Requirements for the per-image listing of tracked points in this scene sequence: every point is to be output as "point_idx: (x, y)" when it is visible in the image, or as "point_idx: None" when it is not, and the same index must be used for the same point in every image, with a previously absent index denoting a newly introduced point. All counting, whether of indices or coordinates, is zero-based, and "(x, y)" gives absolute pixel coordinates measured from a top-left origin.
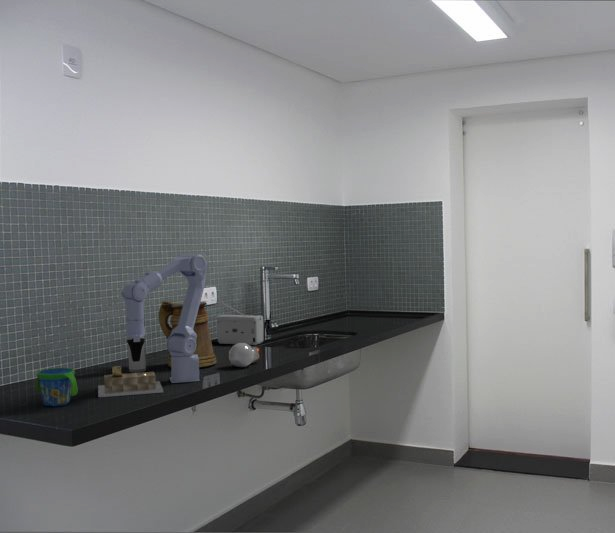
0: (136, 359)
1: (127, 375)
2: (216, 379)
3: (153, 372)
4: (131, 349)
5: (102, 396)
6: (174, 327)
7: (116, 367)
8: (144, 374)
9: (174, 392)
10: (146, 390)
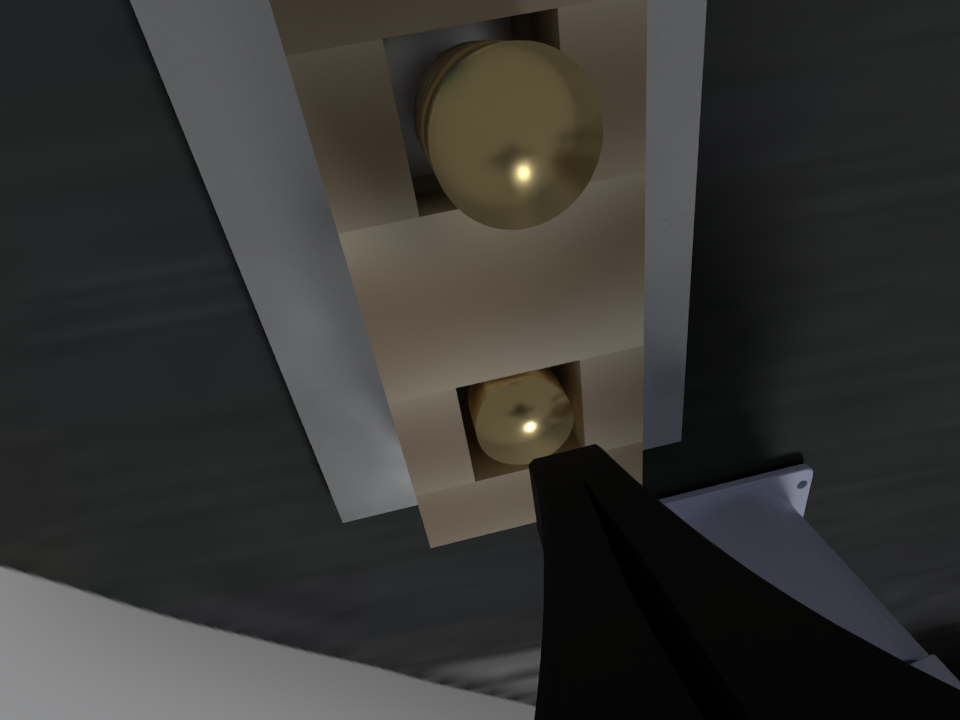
0: (541, 528)
1: (500, 269)
2: None
3: None
4: (540, 691)
5: None
6: None
7: (465, 145)
8: (497, 451)
9: (340, 565)
10: (306, 417)
